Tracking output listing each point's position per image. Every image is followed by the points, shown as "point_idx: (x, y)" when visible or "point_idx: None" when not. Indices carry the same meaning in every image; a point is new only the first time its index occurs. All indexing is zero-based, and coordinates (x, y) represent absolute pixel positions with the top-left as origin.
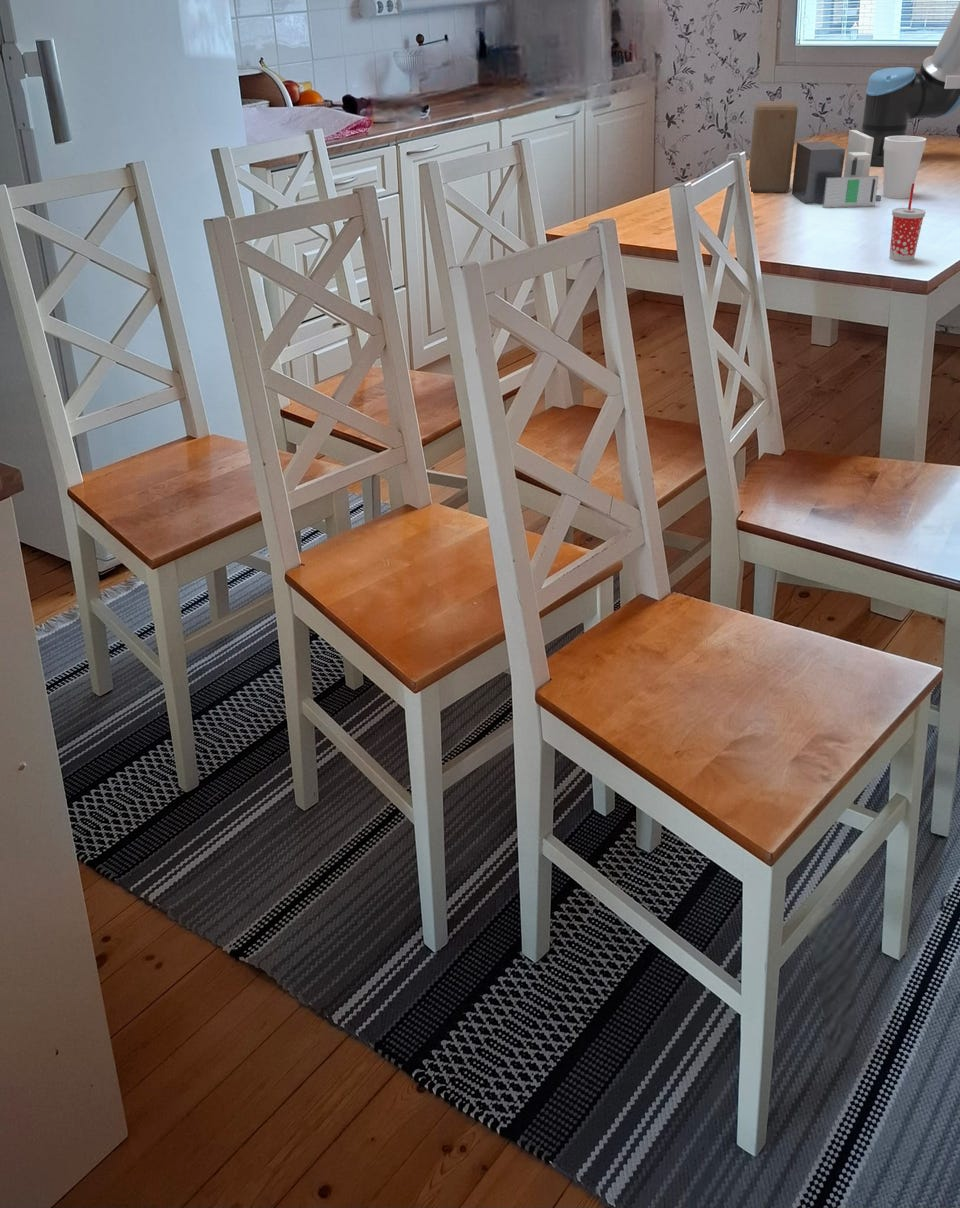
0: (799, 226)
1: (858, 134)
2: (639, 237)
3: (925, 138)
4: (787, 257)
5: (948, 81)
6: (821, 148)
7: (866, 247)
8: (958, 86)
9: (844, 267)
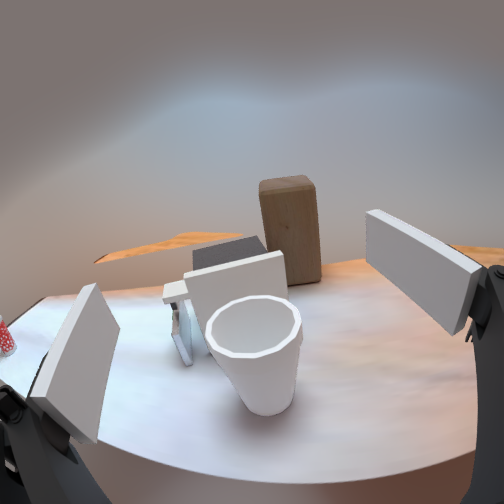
0: (112, 307)
1: (231, 262)
2: (122, 252)
3: (257, 356)
4: (47, 302)
5: (370, 236)
6: (202, 255)
7: (38, 338)
8: (402, 281)
9: (18, 322)
